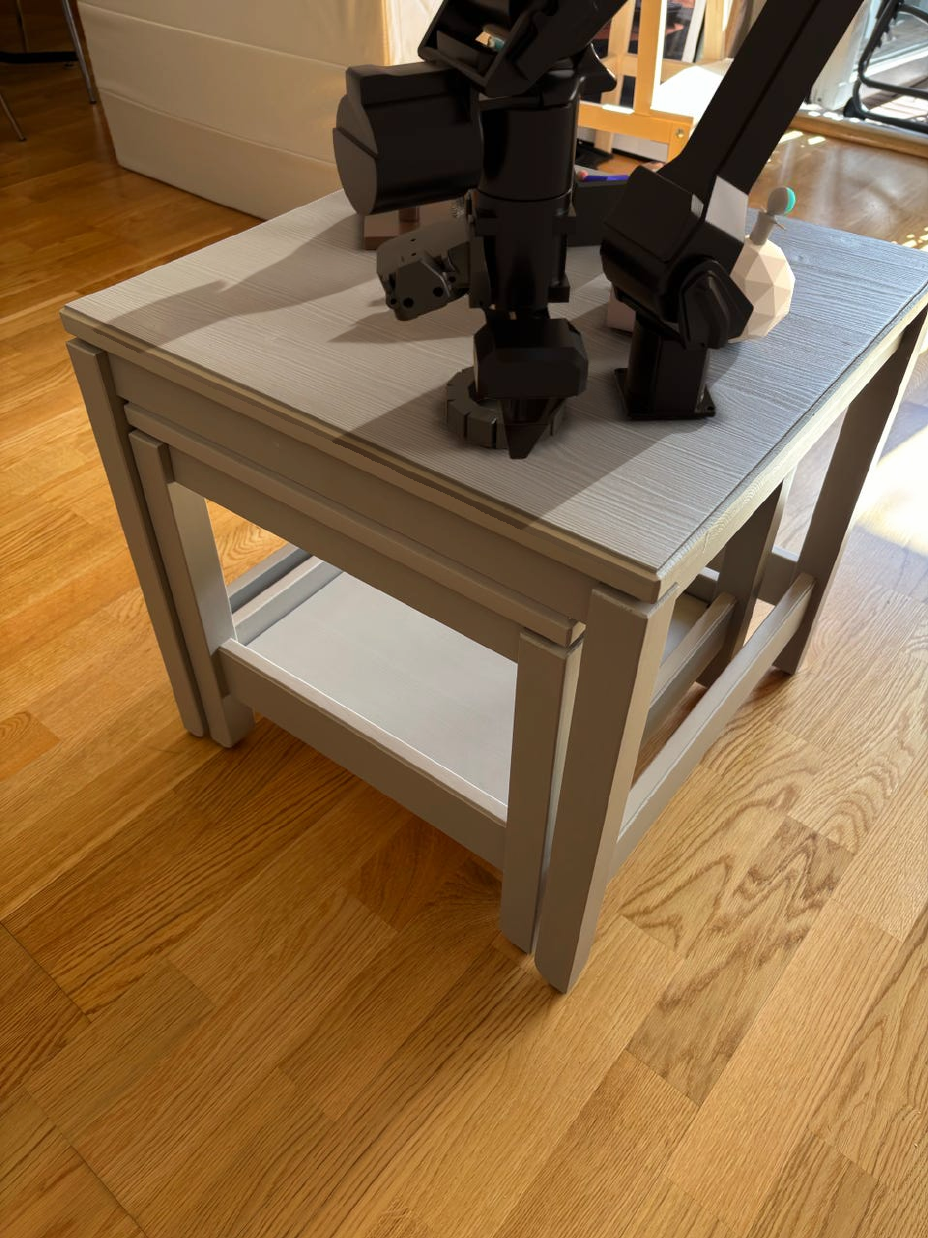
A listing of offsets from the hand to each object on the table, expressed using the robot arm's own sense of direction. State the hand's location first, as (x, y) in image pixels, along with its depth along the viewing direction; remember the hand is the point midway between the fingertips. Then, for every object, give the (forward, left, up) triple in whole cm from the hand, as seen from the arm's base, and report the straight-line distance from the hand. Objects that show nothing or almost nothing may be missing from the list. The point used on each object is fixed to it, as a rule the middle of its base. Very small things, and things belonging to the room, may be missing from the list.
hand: (510, 419), depth 66 cm
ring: (+3, 0, -2) cm, 4 cm away
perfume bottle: (+14, -18, -2) cm, 23 cm away
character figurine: (+33, -12, -2) cm, 35 cm away
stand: (+36, +6, -2) cm, 37 cm away
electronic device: (+18, -14, -2) cm, 23 cm away
